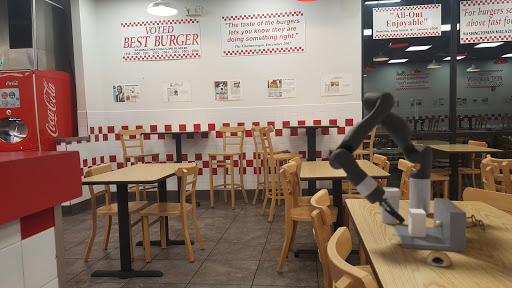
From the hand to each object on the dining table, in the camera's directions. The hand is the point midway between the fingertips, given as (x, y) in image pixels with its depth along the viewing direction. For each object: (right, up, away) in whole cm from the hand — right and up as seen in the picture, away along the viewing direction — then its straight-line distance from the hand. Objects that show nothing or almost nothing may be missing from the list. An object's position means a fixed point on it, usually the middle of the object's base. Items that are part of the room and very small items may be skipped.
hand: (403, 221), depth 144 cm
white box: (+5, -5, -1) cm, 7 cm away
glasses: (+30, -6, +14) cm, 34 cm away
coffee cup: (+3, -5, +22) cm, 23 cm away
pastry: (+2, -8, -25) cm, 26 cm away
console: (+8, -6, -2) cm, 11 cm away
